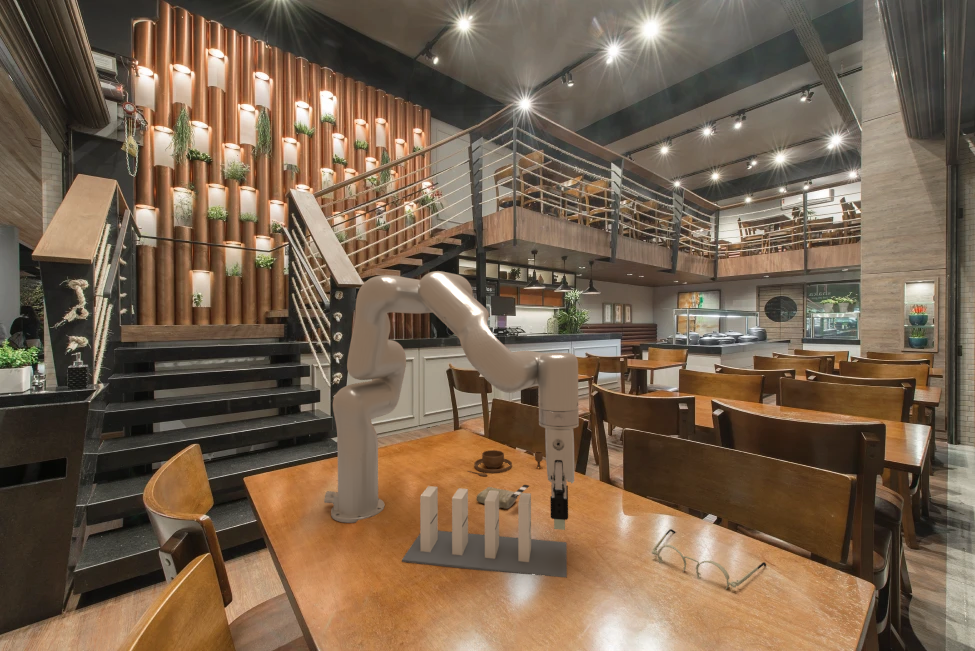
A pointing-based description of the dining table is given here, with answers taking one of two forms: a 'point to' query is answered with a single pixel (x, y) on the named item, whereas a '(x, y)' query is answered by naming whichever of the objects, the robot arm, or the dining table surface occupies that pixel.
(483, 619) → the dining table surface
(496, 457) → the place setting
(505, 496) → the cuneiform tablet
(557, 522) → the end domino
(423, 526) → the domino
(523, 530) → the domino
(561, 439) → the robot arm
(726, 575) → the eyeglasses
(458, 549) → the domino
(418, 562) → the mat
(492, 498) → the domino
